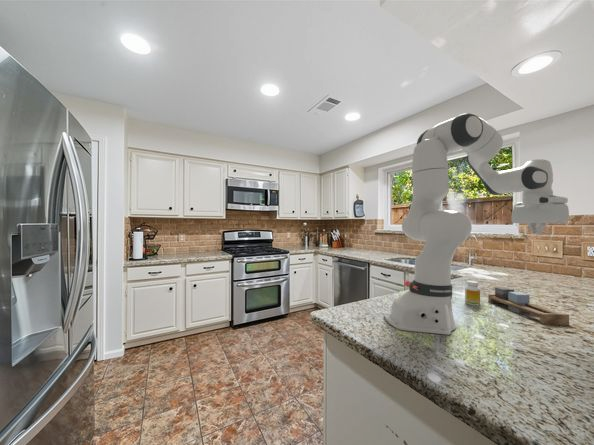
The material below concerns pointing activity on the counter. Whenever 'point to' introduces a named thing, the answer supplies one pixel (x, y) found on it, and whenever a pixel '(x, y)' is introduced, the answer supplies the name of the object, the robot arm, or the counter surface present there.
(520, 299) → the block
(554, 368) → the counter surface
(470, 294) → the supplement bottle
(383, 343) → the counter surface
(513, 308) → the beam
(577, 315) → the counter surface
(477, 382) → the counter surface
